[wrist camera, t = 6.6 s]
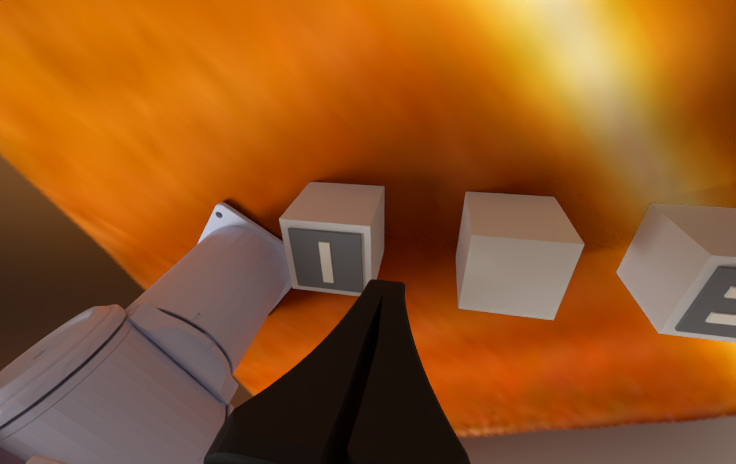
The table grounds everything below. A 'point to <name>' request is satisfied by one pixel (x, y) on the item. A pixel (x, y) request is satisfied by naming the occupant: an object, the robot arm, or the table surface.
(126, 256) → the table surface
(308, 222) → the marked block 1
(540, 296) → the plain block
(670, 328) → the marked block 2
